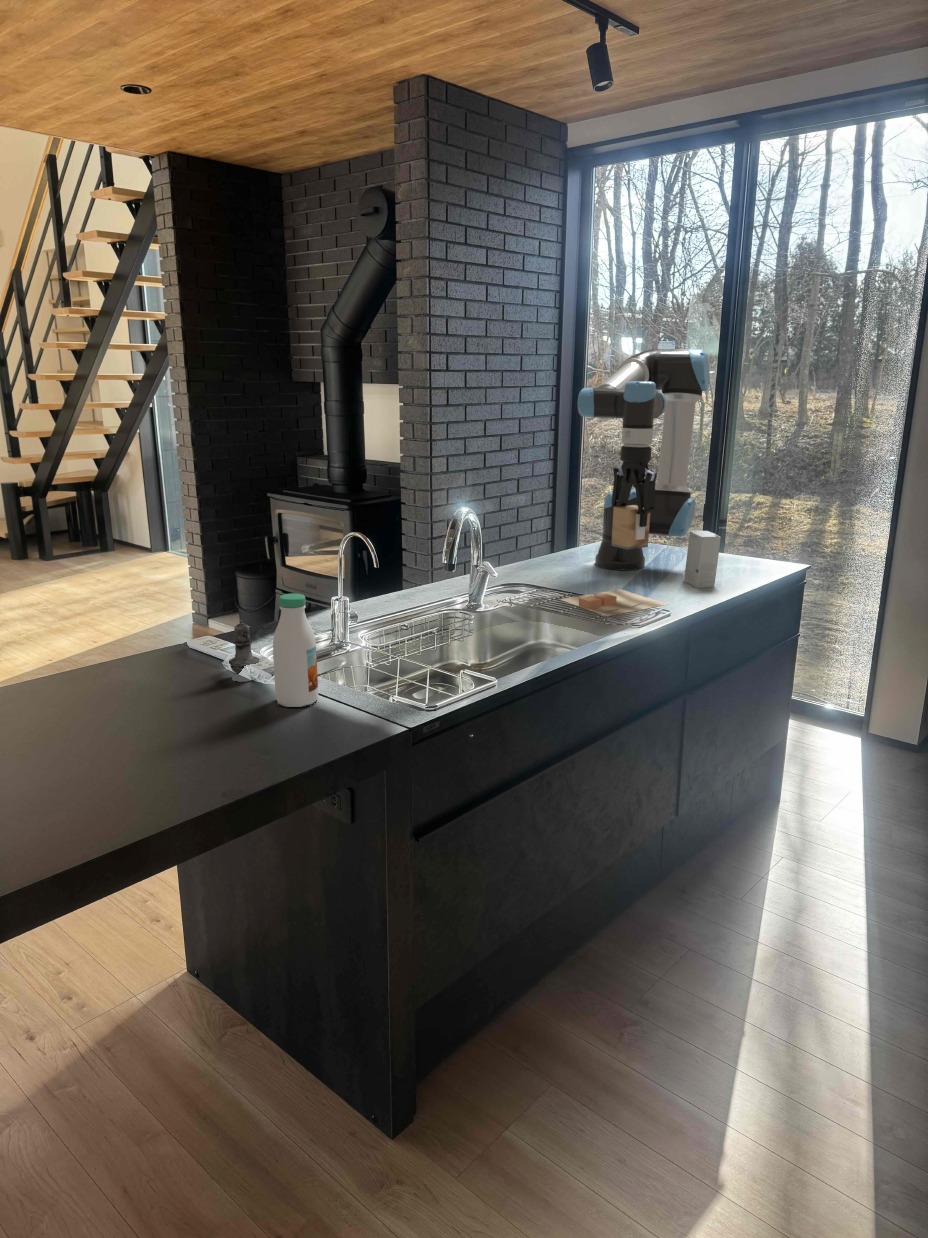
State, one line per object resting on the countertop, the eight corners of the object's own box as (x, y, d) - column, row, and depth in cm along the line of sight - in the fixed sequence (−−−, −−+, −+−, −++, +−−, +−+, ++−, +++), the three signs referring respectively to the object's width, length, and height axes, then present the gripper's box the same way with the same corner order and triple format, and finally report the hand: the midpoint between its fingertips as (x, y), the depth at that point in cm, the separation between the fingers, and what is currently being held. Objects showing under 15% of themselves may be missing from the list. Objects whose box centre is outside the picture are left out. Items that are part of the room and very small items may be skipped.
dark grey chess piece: (233, 684, 167) (229, 625, 163) (226, 675, 172) (222, 617, 168) (263, 680, 169) (260, 621, 166) (256, 670, 174) (252, 613, 171)
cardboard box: (631, 543, 227) (634, 505, 224) (647, 547, 222) (650, 508, 220) (611, 545, 224) (613, 506, 221) (627, 549, 219) (629, 510, 216)
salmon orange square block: (590, 603, 221) (591, 595, 221) (601, 606, 218) (601, 599, 217) (578, 605, 219) (579, 597, 218) (589, 609, 216) (589, 601, 215)
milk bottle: (298, 712, 154) (293, 604, 148) (266, 703, 158) (260, 597, 152) (327, 699, 160) (323, 594, 154) (296, 690, 164) (290, 588, 158)
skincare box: (683, 581, 249) (687, 530, 245) (702, 580, 251) (707, 529, 246) (696, 588, 242) (701, 535, 237) (716, 587, 243) (721, 535, 239)
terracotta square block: (605, 600, 224) (606, 593, 223) (616, 604, 220) (616, 596, 220) (593, 602, 222) (594, 595, 221) (604, 606, 218) (604, 598, 218)
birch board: (620, 593, 236) (620, 588, 235) (668, 608, 221) (668, 604, 221) (559, 603, 225) (559, 599, 224) (606, 620, 210) (606, 616, 210)
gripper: (600, 442, 222) (595, 532, 228) (651, 448, 206) (645, 544, 213) (622, 442, 226) (617, 530, 232) (674, 447, 210) (667, 541, 216)
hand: (630, 536), depth 222 cm, fingers closed on cardboard box, 6 cm apart
